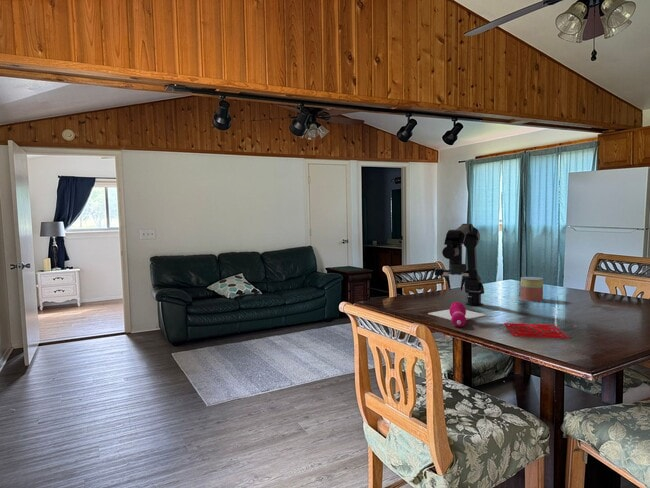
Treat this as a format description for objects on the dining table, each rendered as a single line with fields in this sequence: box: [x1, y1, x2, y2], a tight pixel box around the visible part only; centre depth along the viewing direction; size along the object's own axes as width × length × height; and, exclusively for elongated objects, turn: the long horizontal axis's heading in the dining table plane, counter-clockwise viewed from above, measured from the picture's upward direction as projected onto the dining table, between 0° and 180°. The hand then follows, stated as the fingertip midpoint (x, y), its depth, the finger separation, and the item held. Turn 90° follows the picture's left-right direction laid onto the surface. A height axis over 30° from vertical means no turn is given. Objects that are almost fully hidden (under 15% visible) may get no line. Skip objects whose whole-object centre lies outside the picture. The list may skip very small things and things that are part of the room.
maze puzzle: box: [503, 322, 570, 339], centre depth 177 cm, size 20×20×1 cm
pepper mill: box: [448, 301, 467, 328], centre depth 190 cm, size 7×7×20 cm
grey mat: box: [427, 308, 487, 321], centre depth 206 cm, size 20×18×1 cm
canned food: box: [519, 276, 544, 303], centre depth 237 cm, size 11×11×12 cm
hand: (455, 290), depth 200 cm, fingers open, 5 cm apart
